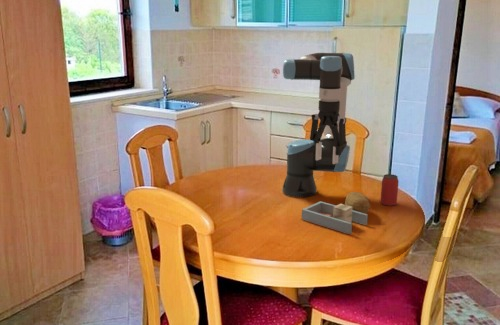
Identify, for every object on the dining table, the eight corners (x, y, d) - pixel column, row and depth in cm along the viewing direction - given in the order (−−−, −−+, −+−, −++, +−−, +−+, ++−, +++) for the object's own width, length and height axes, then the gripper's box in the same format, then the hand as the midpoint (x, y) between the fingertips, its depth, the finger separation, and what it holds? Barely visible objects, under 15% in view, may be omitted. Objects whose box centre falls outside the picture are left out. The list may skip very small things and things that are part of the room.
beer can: (397, 206, 203) (399, 178, 200) (380, 205, 204) (382, 178, 201) (396, 201, 209) (398, 174, 206) (379, 200, 211) (382, 173, 207)
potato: (363, 206, 203) (364, 188, 201) (374, 219, 190) (375, 200, 188) (339, 207, 203) (340, 188, 200) (349, 220, 189) (350, 200, 187)
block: (332, 224, 185) (333, 207, 183) (339, 220, 189) (340, 203, 187) (344, 228, 182) (345, 210, 180) (351, 224, 186) (352, 206, 184)
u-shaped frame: (301, 219, 190) (301, 209, 189) (320, 210, 199) (320, 201, 198) (349, 234, 176) (350, 224, 175) (367, 224, 185) (367, 214, 184)
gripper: (301, 98, 182) (299, 158, 188) (347, 104, 169) (344, 168, 175) (312, 96, 187) (310, 154, 193) (359, 101, 174) (355, 164, 181)
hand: (326, 161), depth 184 cm, fingers open, 7 cm apart
